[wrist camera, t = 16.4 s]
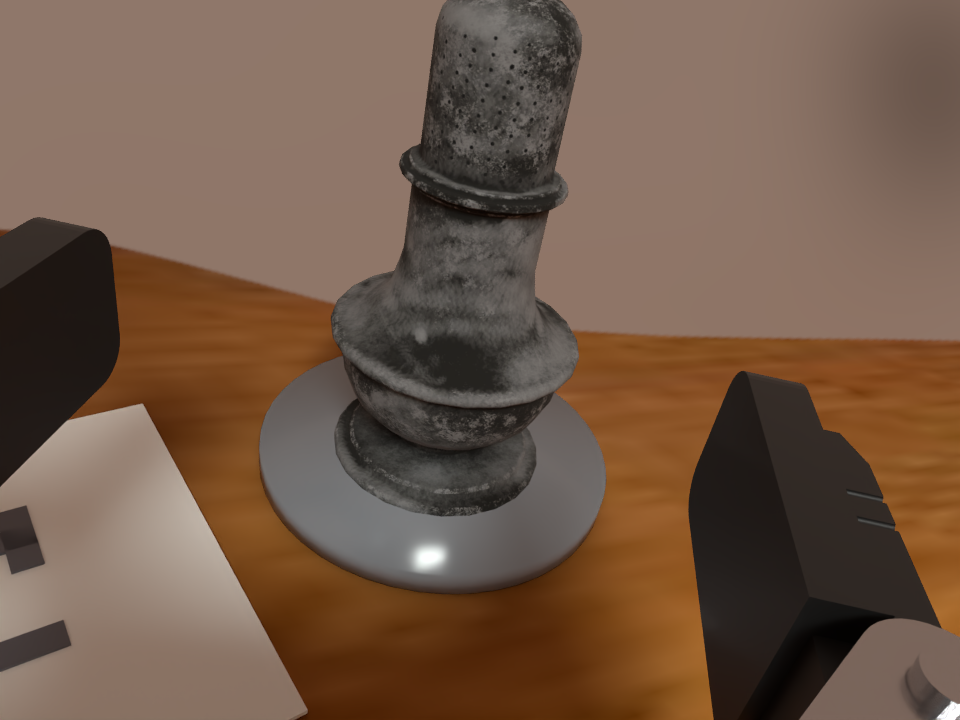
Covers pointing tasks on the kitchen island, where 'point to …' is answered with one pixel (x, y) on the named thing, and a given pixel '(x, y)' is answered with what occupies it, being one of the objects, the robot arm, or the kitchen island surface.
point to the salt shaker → (466, 273)
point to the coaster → (414, 536)
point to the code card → (123, 590)
